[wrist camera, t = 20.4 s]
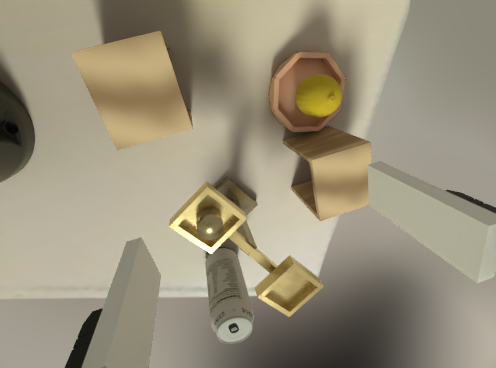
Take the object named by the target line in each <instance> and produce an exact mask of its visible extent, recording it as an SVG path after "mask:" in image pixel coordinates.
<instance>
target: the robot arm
mask: <svg viewBox="0 0 496 368" xmlns="http://www.w3.org/2000/svg"><path fill="white" fill-rule="evenodd" d="M34 143H35V137H34V130H33V126H32V122H31V120H30V117H29V115H28V113H27V111H26V110H25V108H24V107H23V105H22V104H21V102H20V101H19V100H18V98H17V97H16V96H15V95H14V94H13V93H12V92H11V91H10V90H9V89H8V88H7V87H6V86H5V85H3V84H2V83H1V82H0V182H2V181H4V180H6V179H8V178H9V177H11V176H13V175H15V174H16V173H18V172H19V171H20V170H21V169H23V168H24V166H25V165H26V164H27V163H28V161H29V160H30V158H31V156H32V153H33V149H34ZM368 189H369V206H371V207H372V208H374V209H375V210H376V211H378V212H379V213H380V214H382V215H383V216H385V217H386V218H388V219H389V220H390V221H392V222H393V223H394V224H396V225H397V226H399V227H400V228H401V229H403V230H404V231H405V232H407V233H408V234H410V235H411V236H412V237H414V238H415V239H417V240H418V241H419V242H421V243H422V244H423V245H425V246H426V247H428V248H429V249H430V250H432V251H433V252H435V253H436V254H437V255H439V256H440V257H442V258H443V259H444V260H446V261H447V262H449V263H450V264H451V265H453V266H454V267H455V268H457V269H458V270H459V271H461V272H462V273H464V274H465V275H466V276H468V277H469V278H471V279H472V280H473V281H475V282H476V283H479V282H482V281H484V280H487V279H489V278H492V277H494V275H495V271H496V208H495V207H493V206H490V205H488V204H484V203H483V202H481V201H479V200H477V199H475V200H474V198H472V197H470V196H467V195H465V194H463V193H460V192H455V191H450V190H446V191H445V190H442V189H440V188H438V187H436V186H434V185H431V184H429V183H427V182H425V181H422V180H420V179H418V178H416V177H414V176H411V175H409V174H407V173H405V172H403V171H400V170H398V169H396V168H394V167H391V166H389V165H387V164H385V163H383V162H381V161H379V162H376V163H372V164H369V165H368ZM160 279H161V274H160V273H159V271H158V269H157V267H156V265H155V263H154V261H153V259H152V257H151V255H150V253H149V251H148V249H147V247H146V245H145V243H144V241H143V239H142V238H137V239H134V240H131V241H128V242H127V243H126V246H125V248H124V251H123V254H122V257H121V259H120V262H119V265H118V268H117V271H116V273H115V276H114V279H113V282H112V284H111V287H110V290H109V293H108V296H107V298H106V302H105V304H104V307H103V308H102V309H99V310H96V311H93V312H92V313H91V314H90V316H89V317H88V318H87V320H86V321H85V322H84V324H83V325H82V328H81V330H80V333H79V335H78V339H77V340H76V342H75V345H74V347H73V348H74V349H73V350H72V352H71V354H70V357H69V359H68V361H67V364H66V366H65V368H149V363H150V355H151V347H152V339H153V332H154V324H155V316H156V309H157V302H158V294H159V286H160Z"/></svg>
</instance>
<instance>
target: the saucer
mask: <svg viewBox="0 0 496 368" xmlns="http://www.w3.org/2000/svg"><path fill="white" fill-rule="evenodd" d="M316 74H323V75H328V76H330V77H332V78H333V79H335V80H336V81H337V82H338V84H339V85H340V87H341V91H342V98H341V102H340V105H339V106H338V108H337V109H336V110H335V111H334V112H333V113H332V114H330V115H328V116H325V117H321V118H314V117H310V116H307V115H305V114H304V113H302V112H301V110H300V109H299V108H298V106H297V104H296V91H297V88H298V86H299V84H300V83H301V82H302V81H303V80H304V79H306V78H307V77H309V76H312V75H316ZM344 78H345V76H344V74H343V73H342V71H341V70H340V68H339V67H338V65H337V64H336V63H335V61H334V60H333V58H332V57H331V55H330V54H328V53H321V52H296V53H294V54H293V55H292V56H291V57H289V58H288V59H286V60H285V61H284V62H283V63H282V64H281V65H280V66H279V67H278V68H277V70H276V71H275V73H274V75H273V77H272V80H271V83H270V87H269V103H270V107H271V111H272V112H273V114H274V116H275V117H276V118H277V120H278V121H279V122H281V123H282V124H283V125H285V126H286V127H287V128H288V129H289V130H290V131H292V132H308V131H319V130H321V129H322V128H323V127H324V126H325V125H326V124H327V123H328V122H329V121H330V120H331V119H332V118H333V117H334V116H335V115H336V114H337V113H338V112H339V111H340V109H341V108H342V101H343V94H344V87H345V80H346V79H344Z"/></svg>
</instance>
